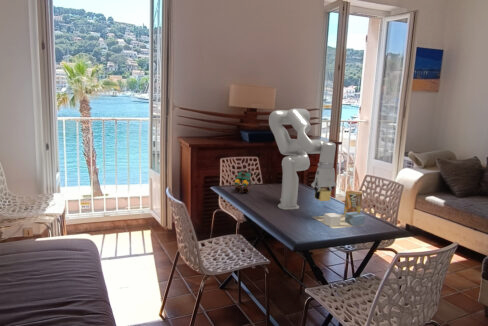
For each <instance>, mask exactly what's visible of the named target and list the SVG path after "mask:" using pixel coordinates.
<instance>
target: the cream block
mask: <svg viewBox="0 0 488 326" xmlns="http://www.w3.org/2000/svg"><path fill="white" fill-rule="evenodd" d="M339 215H340V214H337V213H334V212H329V213H323V216H324V222H323V223H322V224H324V223H325V224H327V225H328V226H327V225H326V226H327V227H329V226H340V219H341V216H339ZM325 224H324V225H325Z"/></svg>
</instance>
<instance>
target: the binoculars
mask: <svg viewBox="0 0 488 326" xmlns="http://www.w3.org/2000/svg"><path fill="white" fill-rule="evenodd" d="M251 172H252V171H251V170H247V172H245V170H243V169H241V170H240V172H238V174H237V175H236V178H235V180H234V184H233V185H234V191H235V192H236V191H239V192H238V193H241V192H243V193H244V192H246V193H245V194H249V192H250V191H252V190H253V189H254V187H255V184H254V183H252V180H251V176H252V175H251ZM241 182H242V183H241ZM240 184H241V185H242V186H241V185H240ZM248 184H250V185H252V186H253V187H252V188H250V187H249V186H248ZM249 190H250V191H249Z"/></svg>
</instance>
